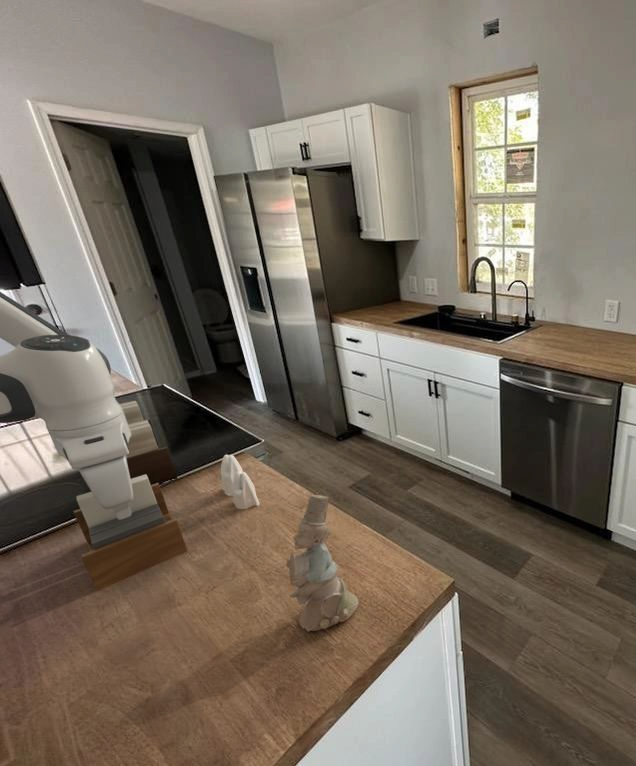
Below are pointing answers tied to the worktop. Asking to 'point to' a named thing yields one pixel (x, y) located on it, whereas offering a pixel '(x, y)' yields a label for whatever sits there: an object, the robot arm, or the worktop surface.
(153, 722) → the worktop surface
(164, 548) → the coaster holder
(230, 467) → the shaker set
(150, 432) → the brown wooden crate
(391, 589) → the worktop surface
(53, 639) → the worktop surface
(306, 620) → the figurine
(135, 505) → the white book
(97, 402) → the robot arm
